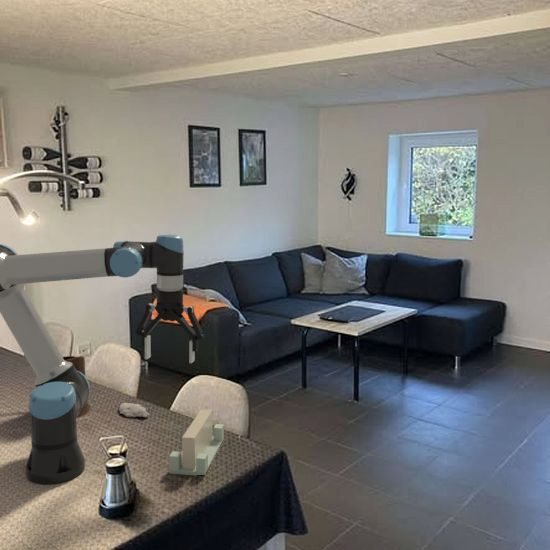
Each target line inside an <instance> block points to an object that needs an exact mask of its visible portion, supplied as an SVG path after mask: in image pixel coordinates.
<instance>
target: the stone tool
mask: <svg viewBox="0 0 550 550" xmlns="http://www.w3.org/2000/svg"><path fill="white" fill-rule="evenodd" d="M118 410H119V414H122V415H124V416H125V417H127V418H137V417H141V418H147V417H148V416H149V415H150V413H149V412H147V409H146V407H144V406H142V405H141V404H139V403H137V404H135V403H133V402H131V403H129V402H123V403H121V404H120V405H119V408H118Z"/></svg>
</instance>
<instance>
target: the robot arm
mask: <svg viewBox="0 0 550 550" xmlns="http://www.w3.org/2000/svg"><path fill="white" fill-rule="evenodd" d="M184 253H185V252H184V239H183V237H182V236H180V235H177V234H159V235H157V236H156V240H155V241H128V240H124V241H115V242H114V244H113V247H110V248H109V247H108V248H107V247H105V248H94V249H93V248H92V249H80V250H79V249H78V250H68V251H67V250H66V251H54V252H53V251H52V252H42V253H41V252H38V253H28V254H27V253H26V254H25V253H24V254H18V253H17V252H16V251H15V249H13V248H12V247H9V246H8V245H6V244H0V315H1V316H2V318H3V319H4V321H5V323H6V326H7V327H8V329H9V330H10V333H11V334H12V336H13V337H14V339H15V340H16V342H17V345H18V346H19V348H20V349H21V351H22V353H23V354H24V356H25V358H26V360H27V361H28V363H29V365H30V367H31V369H32V370H33V372H34V374H35V380H34V386H35V388H34V389H33V390H32V391H31V392H30V395H29V399H28V400H29V401H28V410H29V423H30V425H29V426H30V437H31V438H30V440H31V448H30V453H29V455H28V459H27V463H26V466H25V472H26V473H25V477H26V478H27V479H28V480H29V481H30V482H32V483H34V484H39V485H40V484H41V485H52V484H53V485H55V484H60V483H64V482H67V481H69V480H73V479H74V478H76V477H78V476H80V475H81V474H82V473H83V472H84V471H85V468H86V462H85V461H86V460H85V456H84V454H83V451H82V449H81V447H80V446H81V445H80V444H79V442H78V430H77V427H78V426H77V419H78V418H77V416H78V414H79V412H80V411H81V409H82V407H83V406H84V405H85V404H86V402H87V403H88V399H89V396H90V393H91V392H90V391H91V388H90V387H91V386H90V381H89V380H88V378H87V377H86V374H85V375H84V374H82V373H81V372H78V371H76V369H75V367H74V365H73V364H72V363H71V362H67V361H65V360H64V359H63V357H64V356H63V355H62V353H61V352H60V349H59V347H58V345H56V343H55V341H54V340H53V338H52V335H51V334H50V332H49V330H48V328H47V327H46V325H45V323H44V320H42V318H41V317H40V314H39V312H38V310H37V309H36V308H35V306H34V304H33V302H32V301H31V298H30V297H29V294H28V293H27V291H26V290H25V286H26V284H37V283H49V282H60V281H69V280H70V281H72V280H81V279H82V280H83V279H93V278H106V277H121V278H130V277H133V276H135V275H137V273H139V271H140V270H141V269H156V288H157V290H156V304H153V303H152V302H150V303H147V304H146V305H145V311H144V314H143V315H142V318H141V320H140V322H139V324H138V325H137V328H136V330H135V331H134V332H135V334H136V335H138V336H140V337H141V347H142V348H144V360H148V359H150V358H151V357H152V354H151V353H152V352H151V348H152V347H151V340H152V339H151V338H152V337H151V336H152V335H149V334H150V333H151V332H152V330H153V329H154V328H155V327H156V326H157V324H158V323H159V322H161V320H162V321H165V322H168V321H169V322H175V321H176V322H177V324H179V326H181V328H182V330H183V331H184V332H185V333H186V334H187V335H188V337H189V338H190V340H189V341H188V342H189V345H188V346H189V348H188V349H189V350H188V351H189V353H188V354H189V357H188V358H189V359H188V360H189V361H188V362H189V363H188V364H192V363H193V362H195V361H196V360H195V359H196V357H195V355H196V353H195V352H197V351H199V341H200V340H203V338H204V337H205V332H204V331H203V329H202V326H201V325H200V322H199V320H198V318H197V316H196V314H195V307H194V306H193V305H190V306H184V290H183V288H184ZM154 311H156V313H157V315H156V316H155V318H154V319H153V320H152V321H151V322H150V324H149V325H148V326H147V327H146V325H147V323H148V321H149V319H150V317H151V315H152V313H153V312H154ZM184 312H185V314H186V315H187V317H188V319H189V321H190V323H191V325H190V324H189V322H188V321H187V320H186V317H185V316H184V315H183V313H184Z"/></svg>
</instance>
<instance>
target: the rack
mask: <svg viewBox="0 0 550 550" xmlns="http://www.w3.org/2000/svg"><path fill="white" fill-rule="evenodd" d="M191 424H192V422H191V423H190V425H191ZM223 440H224V441H225V424H222V423H215V425H214V427H213V435H212V440H211V442H210V443H209V445H208V447H207V449H206V450H205V452H204V454H203V453H199V454H198V456H197V457H196V468H195V469H187V468H183V462H182V450H181V451H177V450H173V451H171V453H170V455H169V456H168V460H169V461H168V462H169V463H168V464H169V465H168V467H169V469H168V470H169V471H168V472H169V474H172V475H174V474H175V475H184V476H185V475H186V476H187V475H188V476H197V475H205V474H206V472H207V470H208V468H209V466H210V464H211V462H212V461H213V462H214V460H215V458H216V456H217V454H218V452H219V450H220V448H221V446H222V445H221V443H222V441H223ZM224 441H223V442H224ZM222 444H223V443H222ZM220 445H221V446H220ZM219 447H220V448H219ZM218 449H219V450H218ZM217 451H218V452H217ZM216 453H217V454H216ZM215 455H216V456H215ZM214 457H215V458H214ZM213 459H214V460H213ZM213 462H212V463H213ZM211 465H212V464H211ZM210 467H211V466H210ZM209 469H210V468H209ZM208 471H209V470H208ZM207 473H208V472H207ZM206 475H207V474H206Z"/></svg>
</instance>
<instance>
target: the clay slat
mask: <svg viewBox="0 0 550 550" xmlns="http://www.w3.org/2000/svg"><path fill="white" fill-rule="evenodd" d="M191 423H192V424H191ZM191 423H190V425H189V427H188V428H187V429H186V431H185V432H184V434H183V435H182V437H181V441H182V442H181V444H182V446H181V448H182V449H181V451H182V462H183V468H187V469H195V468H196V457H197V456H198V454H199V453H203V454H204V452H205V450H206V449H207V447H208V445H209V443H210V442H211V440H212V436H213V409H200V411H199V412H198V413H197V415H196V416H195V418H194V419H193V421H192V422H191Z"/></svg>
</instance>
